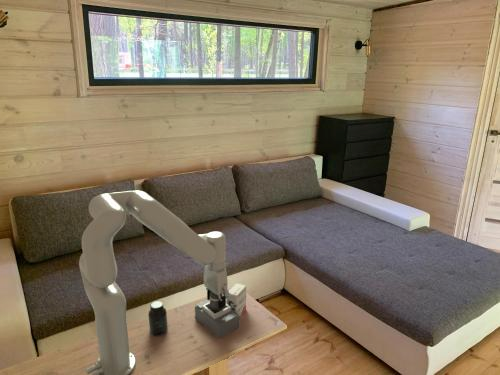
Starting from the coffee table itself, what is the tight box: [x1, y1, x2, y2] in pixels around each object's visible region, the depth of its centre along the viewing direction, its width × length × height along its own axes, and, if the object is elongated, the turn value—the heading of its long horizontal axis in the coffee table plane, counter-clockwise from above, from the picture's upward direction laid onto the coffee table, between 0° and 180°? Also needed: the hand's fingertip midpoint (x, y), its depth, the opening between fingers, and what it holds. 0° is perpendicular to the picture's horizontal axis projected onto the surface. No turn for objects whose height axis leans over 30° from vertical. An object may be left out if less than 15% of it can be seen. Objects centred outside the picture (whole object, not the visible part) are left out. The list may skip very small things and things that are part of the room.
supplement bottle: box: [148, 300, 169, 337], centre depth 144 cm, size 7×7×12 cm
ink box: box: [226, 282, 247, 318], centre depth 155 cm, size 8×5×12 cm, turn 152°
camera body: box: [194, 299, 240, 339], centre depth 149 cm, size 16×10×8 cm, turn 42°
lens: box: [210, 291, 224, 313], centre depth 147 cm, size 5×5×8 cm
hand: (216, 302), depth 147 cm, fingers open, 6 cm apart
